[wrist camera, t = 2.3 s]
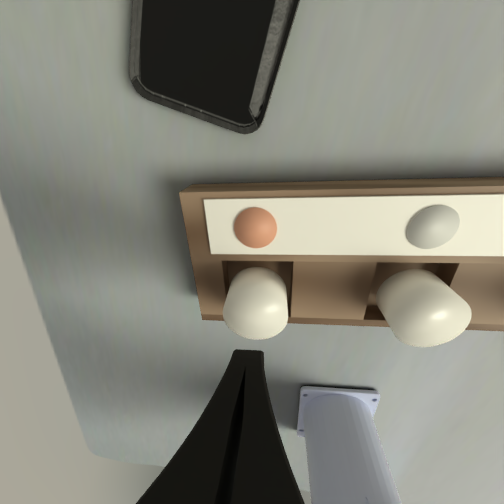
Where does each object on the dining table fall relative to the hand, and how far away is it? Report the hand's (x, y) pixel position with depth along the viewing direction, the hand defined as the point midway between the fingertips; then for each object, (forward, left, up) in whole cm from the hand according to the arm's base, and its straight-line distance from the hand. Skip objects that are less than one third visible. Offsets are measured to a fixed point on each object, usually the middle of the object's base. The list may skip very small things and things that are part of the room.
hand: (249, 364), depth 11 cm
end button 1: (0, 0, -6) cm, 6 cm away
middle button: (0, -10, -6) cm, 12 cm away
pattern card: (+5, -10, -6) cm, 13 cm away
